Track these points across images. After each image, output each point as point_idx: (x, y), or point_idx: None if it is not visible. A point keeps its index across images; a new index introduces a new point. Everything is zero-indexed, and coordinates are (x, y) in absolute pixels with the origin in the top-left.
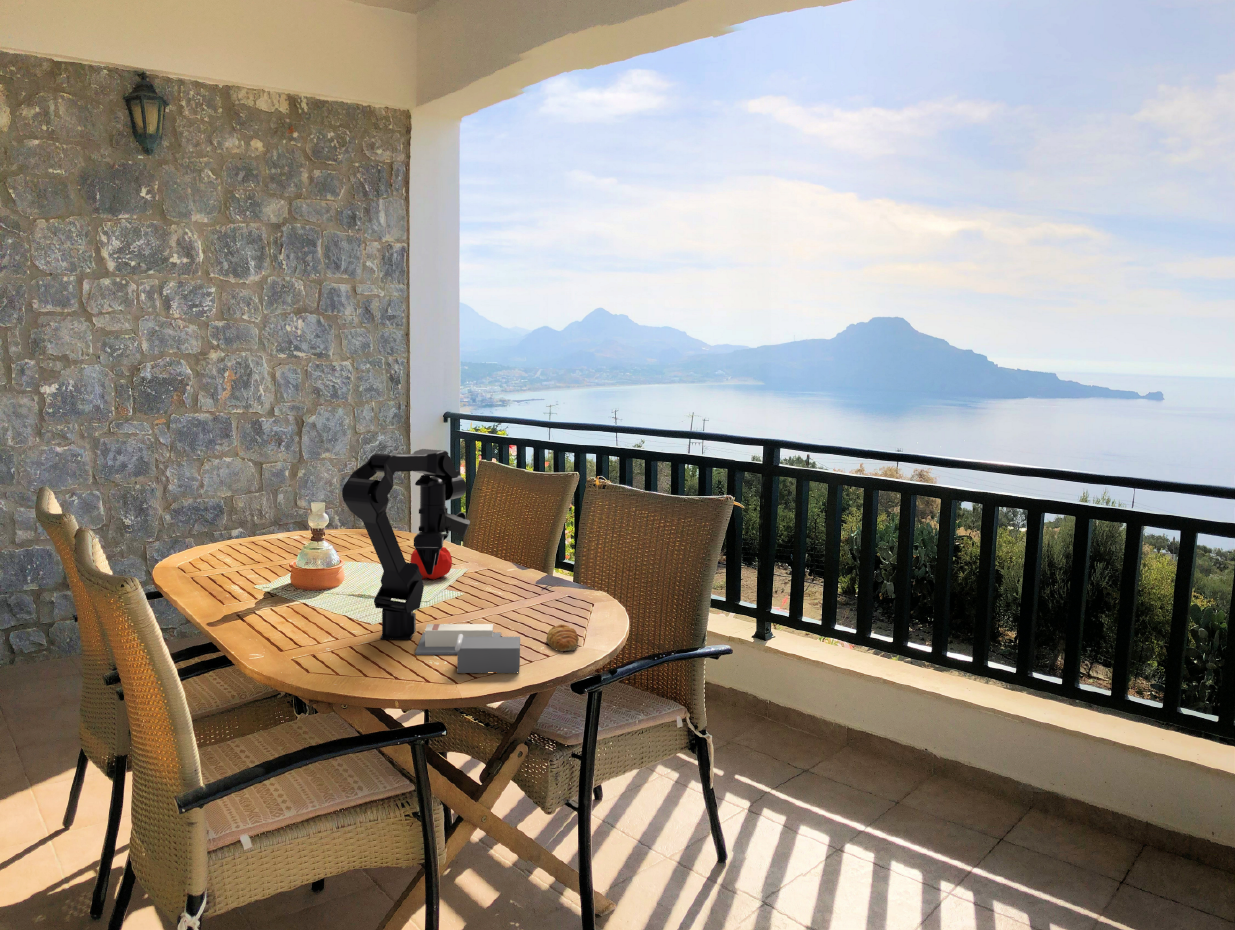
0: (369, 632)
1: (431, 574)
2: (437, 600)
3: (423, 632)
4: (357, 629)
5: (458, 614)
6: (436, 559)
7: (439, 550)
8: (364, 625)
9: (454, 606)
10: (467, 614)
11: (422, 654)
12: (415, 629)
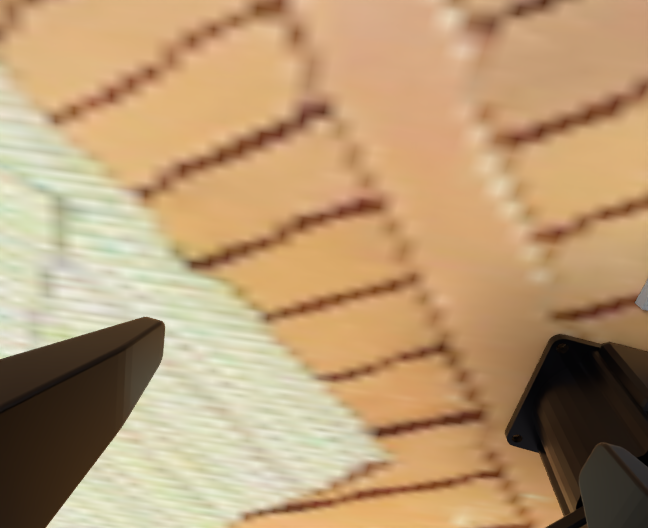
0: (495, 482)
1: (619, 449)
2: (42, 152)
3: (643, 308)
4: (440, 509)
5: (314, 69)
6: (127, 358)
7: (14, 404)
8: (394, 483)
9: (153, 72)
10: (324, 10)
11: None
12: (616, 346)
